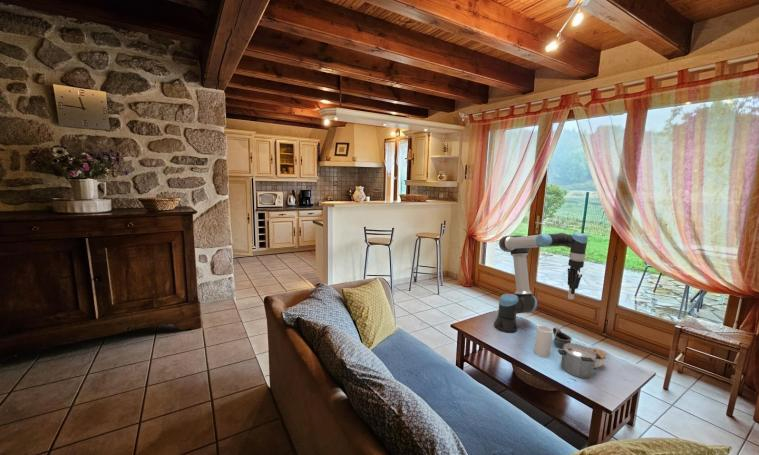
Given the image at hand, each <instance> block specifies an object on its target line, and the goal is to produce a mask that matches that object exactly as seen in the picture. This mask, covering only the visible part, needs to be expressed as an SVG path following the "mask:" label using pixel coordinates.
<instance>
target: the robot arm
mask: <svg viewBox="0 0 759 455" xmlns="http://www.w3.org/2000/svg"><path fill="white" fill-rule="evenodd" d="M588 238H589V237H588V235H587V234H586V233H582V232H573V233H572V234H568V233H565V232H556V233H540V234H536V235H535V234H533V235H505V236H502V237H501V238H499V242H498V247H499V248H500V249H501V250H502V252H506V253H510V255H511V256H512V258H513V268H514V277H515V280H514V281H515V288H516V291H515V292H514V293H504V294H502V295H501V296H500V297H499V301H498V312H497V317H496V318H495V320H494V324H493V328H495V329H496V330H498V331H500V332H503V333H507V334H514V333H517V332H518V323H517V314H528V313H532V312H534V311H535V310H536V309H537V307H538V300H537V298H536V296H534V295H533V292H532V291H531V290H530V279H529V273H528V272H529V270H528V262H527V261H528V260H527V259H528V258H527V256H528V255H529V252H530V250H531V249H532V248H547V247H548V248H549V247H566V248H568V249H569V248H570V249H569V250H570V252H569V257H568V258H569V259H568V262H567V264H568V266H569V268H567V285H568V293H567V294H568V295H567V298H568V300H575V293H576V290H578V288H579V285H580V282H581V279H582V277H583V274H581V269H582V268H584V265H585V258H586V249H587V245H588Z"/></svg>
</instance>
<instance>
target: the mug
mask: <svg viewBox="0 0 759 455" xmlns="http://www.w3.org/2000/svg"><path fill="white" fill-rule="evenodd" d="M552 330H553V333H552V334H553V335H554V340H553V341H554V344H555V345H556V346H557V347H559V348H562V349H563V346H564V345H565V344H567V343H572V340H573V338H572V337H571V336H570V335H568V334H566V333H564V332H562V330H561V329H560V328H559V327H557V326H555V327H553V328H552Z"/></svg>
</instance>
